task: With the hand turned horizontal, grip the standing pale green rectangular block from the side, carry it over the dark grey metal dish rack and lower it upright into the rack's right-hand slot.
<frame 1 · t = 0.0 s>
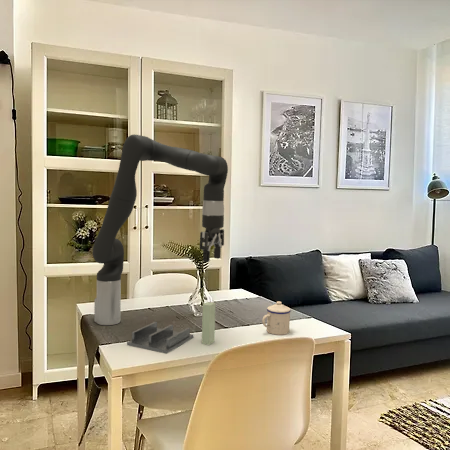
hand: (211, 260, 157), 29 cm above the table, tool pointing down, fingers open, 8 cm apart
teacup with lid: (274, 332, 172), on the table
pale green rectangular block: (208, 342, 158), on the table
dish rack: (161, 341, 158), on the table
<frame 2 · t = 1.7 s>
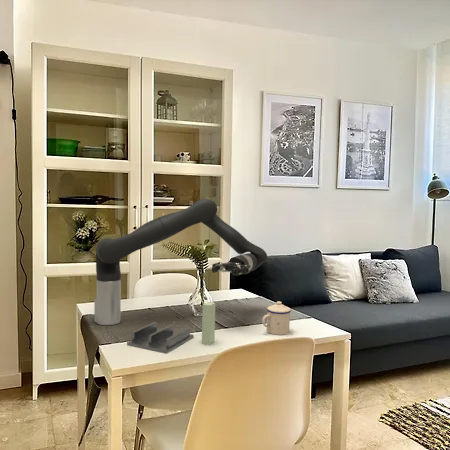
hand: (223, 271, 166), 24 cm above the table, tool horizontal, fingers open, 8 cm apart
nothing on the table moved.
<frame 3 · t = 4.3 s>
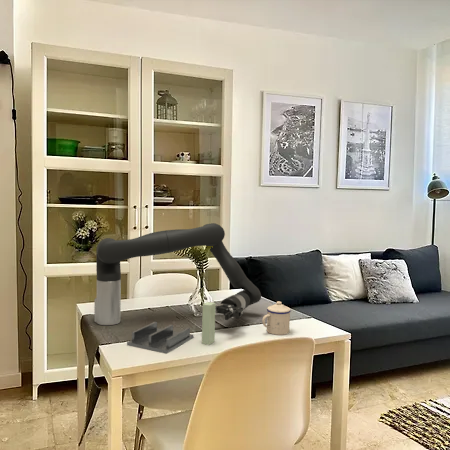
hand: (215, 315, 162), 8 cm above the table, tool horizontal, fingers open, 8 cm apart
nothing on the table moved.
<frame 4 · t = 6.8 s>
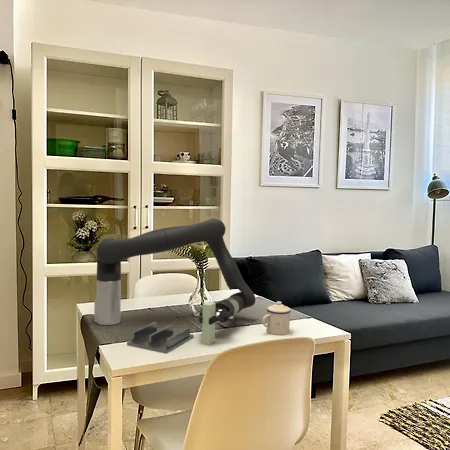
hand: (205, 321, 155), 9 cm above the table, tool horizontal, fingers closed on pale green rectangular block, 3 cm apart
pale green rectangular block: (208, 342, 158), on the table, touching gripper
everything else where it was.
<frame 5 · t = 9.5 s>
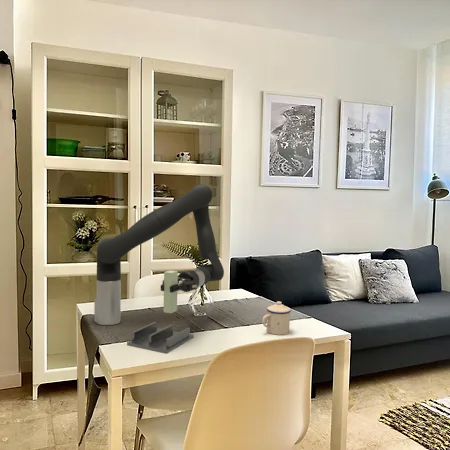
hand: (166, 288, 152), 20 cm above the table, tool horizontal, fingers closed on pale green rectangular block, 3 cm apart
pale green rectangular block: (170, 311, 156), point 11 cm above the table, touching gripper
everything else where it was.
when the fingers open (11 cm above the table, at t = 12.2 s): pale green rectangular block drops 1 cm, resting on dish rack.
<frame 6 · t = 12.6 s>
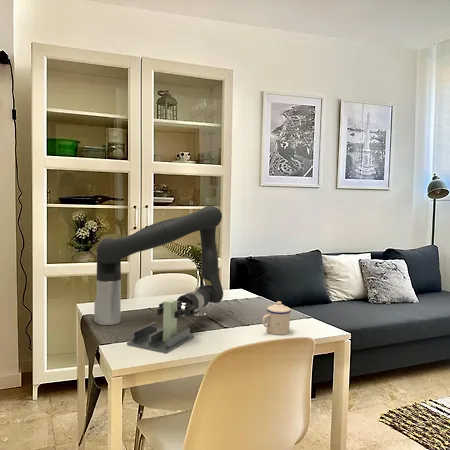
hand: (166, 313, 153), 11 cm above the table, tool horizontal, fingers open, 6 cm apart
pale green rectangular block: (169, 339, 157), point 1 cm above the table, touching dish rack
everything else where it was.
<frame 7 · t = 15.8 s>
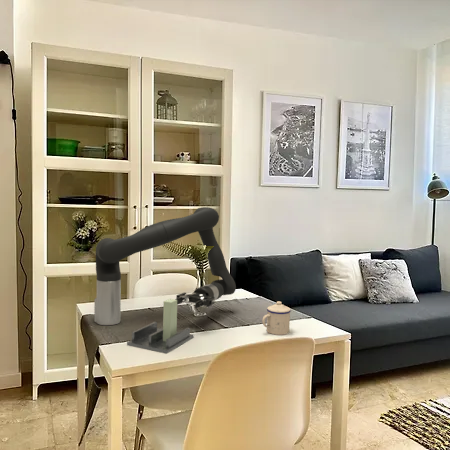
hand: (185, 303, 166), 11 cm above the table, tool horizontal, fingers open, 8 cm apart
nothing on the table moved.
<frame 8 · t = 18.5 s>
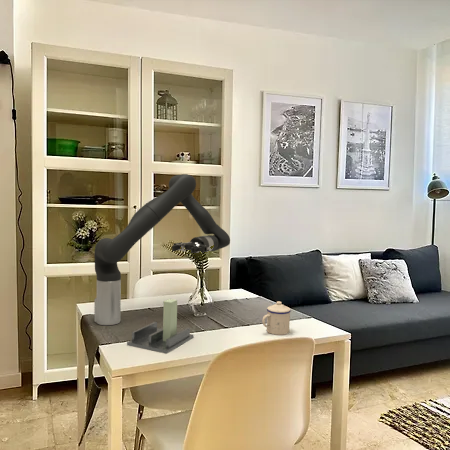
hand: (182, 249, 175), 30 cm above the table, tool horizontal, fingers open, 8 cm apart
nothing on the table moved.
at the end: pale green rectangular block inside the target area on the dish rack (0.0 cm from its centre), point 1.0 cm above the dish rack's base; pale green rectangular block tilted 0°; the gripper is holding nothing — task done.
